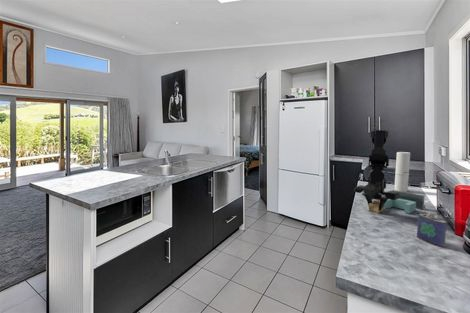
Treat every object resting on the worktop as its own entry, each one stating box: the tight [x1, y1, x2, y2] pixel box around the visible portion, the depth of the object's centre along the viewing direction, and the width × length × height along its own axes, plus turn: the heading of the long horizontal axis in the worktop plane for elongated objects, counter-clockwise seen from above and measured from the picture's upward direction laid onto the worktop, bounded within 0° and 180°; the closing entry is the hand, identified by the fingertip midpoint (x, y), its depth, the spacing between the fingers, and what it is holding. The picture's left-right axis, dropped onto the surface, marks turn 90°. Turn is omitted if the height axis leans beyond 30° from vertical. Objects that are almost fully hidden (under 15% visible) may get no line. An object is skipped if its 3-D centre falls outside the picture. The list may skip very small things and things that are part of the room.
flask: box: [416, 212, 448, 248], centre depth 87 cm, size 9×3×11 cm, turn 15°
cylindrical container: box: [393, 151, 411, 193], centre depth 156 cm, size 7×7×25 cm
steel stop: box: [391, 189, 426, 211], centre depth 127 cm, size 14×4×7 cm, turn 35°
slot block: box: [384, 199, 417, 214], centre depth 121 cm, size 11×8×4 cm
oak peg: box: [368, 199, 386, 214], centre depth 121 cm, size 4×10×4 cm, turn 133°
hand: (375, 209), depth 119 cm, fingers closed on oak peg, 4 cm apart
